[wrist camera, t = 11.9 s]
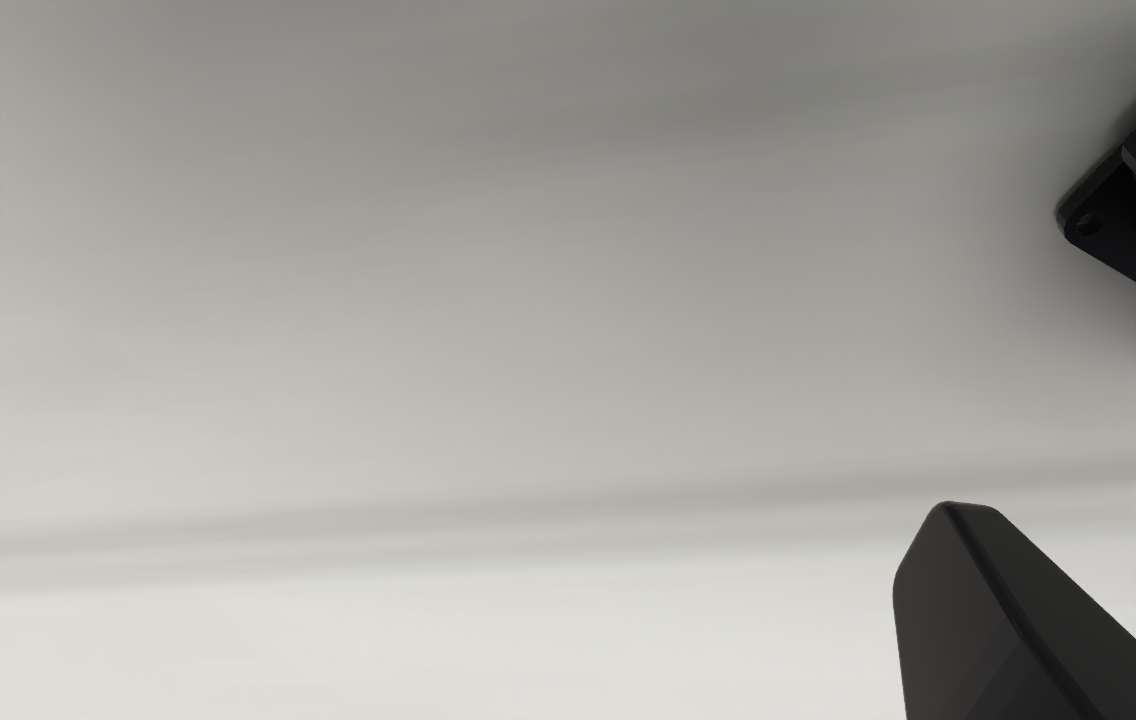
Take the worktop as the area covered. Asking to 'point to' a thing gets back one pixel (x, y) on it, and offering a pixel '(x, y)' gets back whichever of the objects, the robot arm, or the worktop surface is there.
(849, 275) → the worktop surface
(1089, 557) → the worktop surface
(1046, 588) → the robot arm
